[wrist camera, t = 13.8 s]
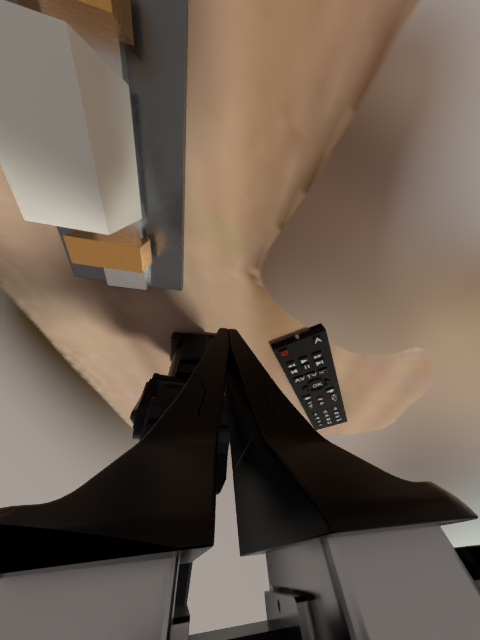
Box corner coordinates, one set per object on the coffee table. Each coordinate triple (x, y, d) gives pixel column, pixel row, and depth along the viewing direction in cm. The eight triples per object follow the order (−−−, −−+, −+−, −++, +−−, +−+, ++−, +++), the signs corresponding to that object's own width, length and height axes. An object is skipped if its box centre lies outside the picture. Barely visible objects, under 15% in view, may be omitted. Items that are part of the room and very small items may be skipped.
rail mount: (182, 286, 21) (175, 307, 17) (80, 272, 19) (49, 293, 15) (189, -84, 9) (170, -245, 6) (-76, -213, 7) (-345, -568, 4)
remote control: (320, 321, 26) (327, 330, 24) (343, 414, 44) (348, 423, 43) (269, 341, 28) (272, 350, 26) (312, 423, 46) (315, 432, 44)
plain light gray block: (142, 218, 15) (108, 234, 10) (85, 207, 14) (24, 220, 10) (128, 85, 11) (65, 21, 6) (48, 60, 10) (-84, -31, 6)
